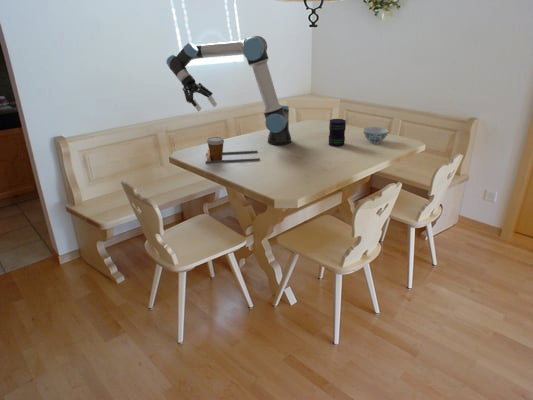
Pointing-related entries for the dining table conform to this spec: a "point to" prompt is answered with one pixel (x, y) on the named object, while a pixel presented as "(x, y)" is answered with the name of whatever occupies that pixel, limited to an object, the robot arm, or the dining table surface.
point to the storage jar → (337, 132)
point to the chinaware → (375, 134)
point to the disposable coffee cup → (215, 148)
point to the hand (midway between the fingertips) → (208, 107)
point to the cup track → (232, 160)
